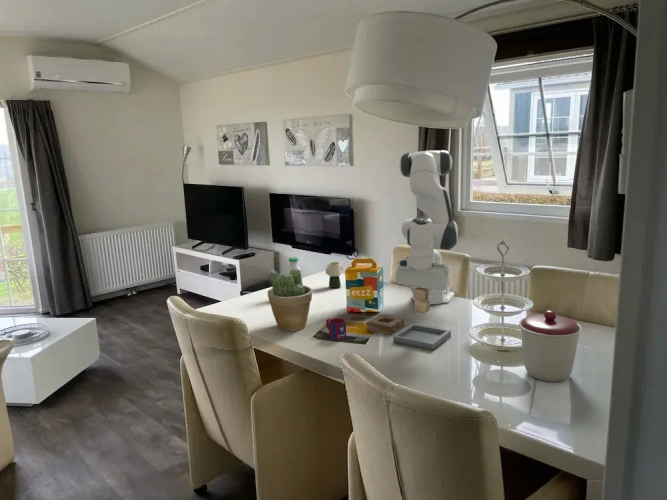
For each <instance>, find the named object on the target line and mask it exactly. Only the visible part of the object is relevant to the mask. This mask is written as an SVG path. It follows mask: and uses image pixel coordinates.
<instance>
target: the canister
mask: <svg viewBox="0 0 667 500" xmlns="http://www.w3.org/2000/svg"><path fill="white" fill-rule="evenodd" d="M518 327H519V328H520V333H521V344H522V345H521V346H522V355H523V357H522V358H523V364H524V365H523V366H524V368H525V371H526V372H527V374H528V375H529V376H531V377H532V378H534V379H536V380H540V381H544V382H551V383H552V382H562V381H565V380H567V379H568V378H569V377H570V376H571V374H572V371H573V368H574V363H575V359H576V353H577V349H578V343H579V339H580V338H579V337H580V334H581V332H582V331H583V328H582V326H581V324H579V323H578V322H576V321H575V320H573V319H571V318H569V317H567V316H562V315H557V313H556V312H555V311H554V310H552V309H551V310H546V311H544V313H540V314H532V315H529V316H525V317H524V318H522V319H520V320H519V321H518Z"/></svg>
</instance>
